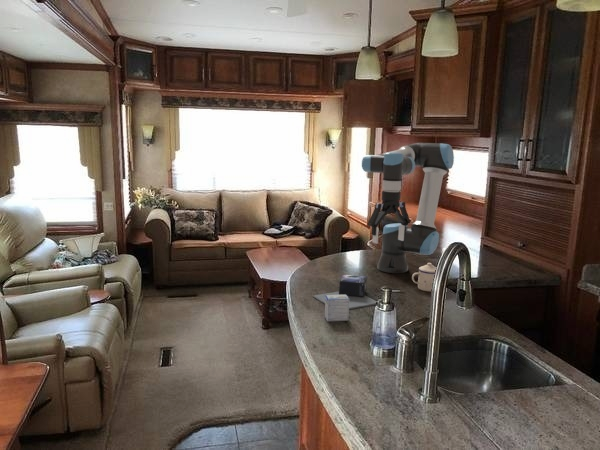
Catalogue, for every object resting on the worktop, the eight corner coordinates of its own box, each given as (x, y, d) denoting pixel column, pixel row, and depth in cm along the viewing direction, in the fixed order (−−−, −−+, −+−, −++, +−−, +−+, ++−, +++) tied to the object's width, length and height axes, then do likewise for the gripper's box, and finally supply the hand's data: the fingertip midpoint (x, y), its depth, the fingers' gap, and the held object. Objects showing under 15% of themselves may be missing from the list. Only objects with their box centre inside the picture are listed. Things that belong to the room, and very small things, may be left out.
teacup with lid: (434, 285, 215) (436, 260, 213) (441, 292, 206) (443, 266, 204) (408, 285, 214) (410, 260, 212) (414, 292, 205) (416, 266, 203)
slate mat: (353, 290, 205) (353, 289, 205) (378, 304, 190) (379, 302, 189) (313, 296, 196) (313, 295, 196) (336, 311, 180) (336, 310, 180)
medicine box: (345, 316, 176) (346, 294, 174) (348, 321, 172) (349, 298, 170) (324, 317, 175) (325, 294, 173) (327, 322, 170) (328, 299, 169)
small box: (364, 282, 193) (339, 280, 195) (364, 297, 194) (338, 295, 197) (366, 275, 203) (342, 273, 206) (366, 290, 205) (342, 288, 207)
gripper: (408, 188, 203) (405, 237, 207) (360, 190, 191) (358, 242, 195) (421, 190, 196) (417, 240, 201) (372, 193, 185) (369, 246, 189)
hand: (388, 241), depth 198 cm, fingers open, 13 cm apart
